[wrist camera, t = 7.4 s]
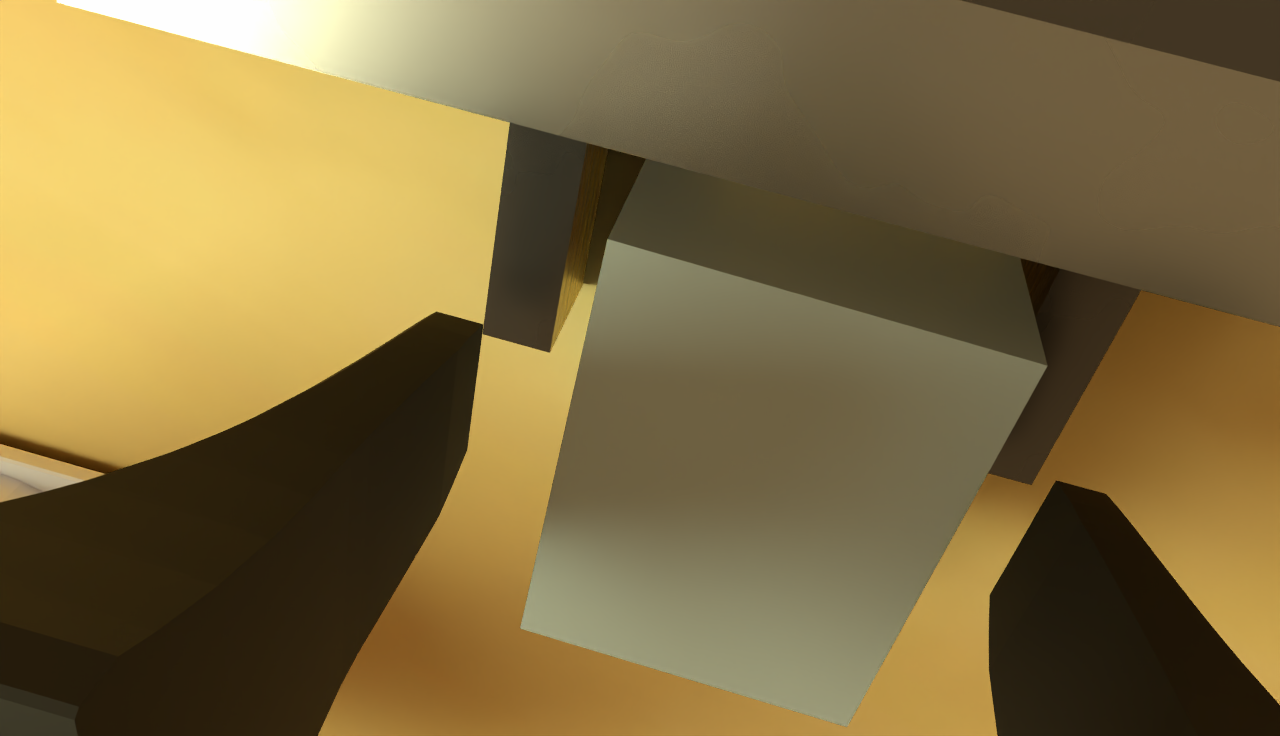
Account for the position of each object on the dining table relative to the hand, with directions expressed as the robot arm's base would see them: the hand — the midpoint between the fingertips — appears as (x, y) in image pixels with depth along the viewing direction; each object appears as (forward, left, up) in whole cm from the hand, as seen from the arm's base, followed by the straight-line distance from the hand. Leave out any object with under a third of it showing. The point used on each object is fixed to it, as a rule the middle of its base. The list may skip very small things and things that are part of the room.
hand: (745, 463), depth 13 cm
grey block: (0, 0, -4) cm, 4 cm away
